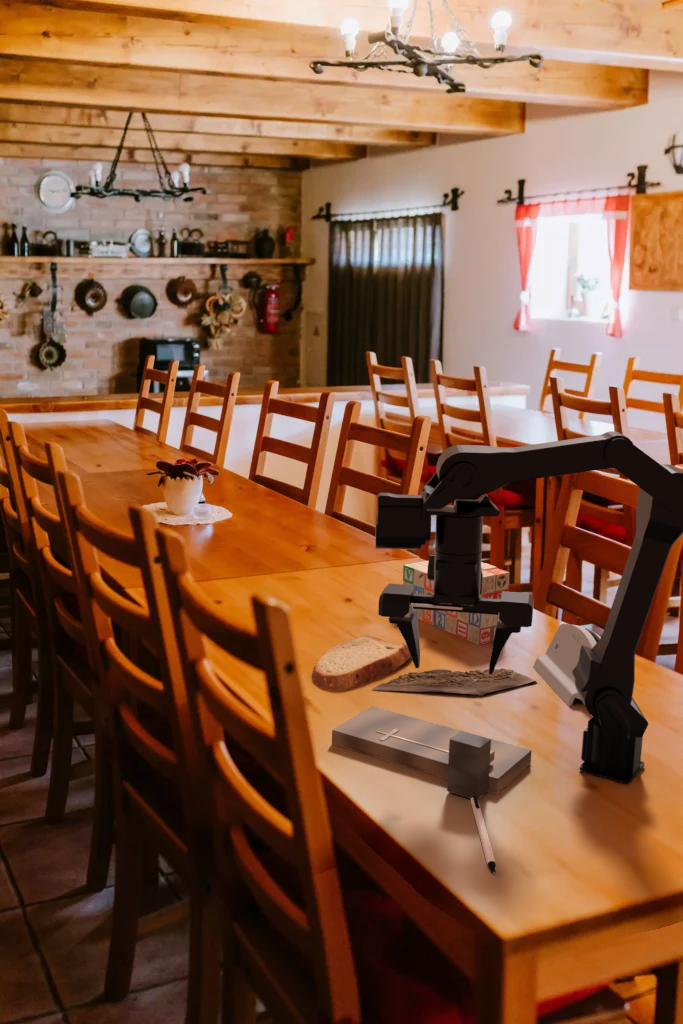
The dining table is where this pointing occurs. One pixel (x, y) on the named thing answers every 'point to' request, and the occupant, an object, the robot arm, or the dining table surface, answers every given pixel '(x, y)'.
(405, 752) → the gray rectangular board
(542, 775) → the dining table surface
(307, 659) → the dining table surface
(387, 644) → the bread slice
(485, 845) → the pen
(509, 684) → the wooden fragment
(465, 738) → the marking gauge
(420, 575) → the stack of blocks
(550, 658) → the beige ledged stand
